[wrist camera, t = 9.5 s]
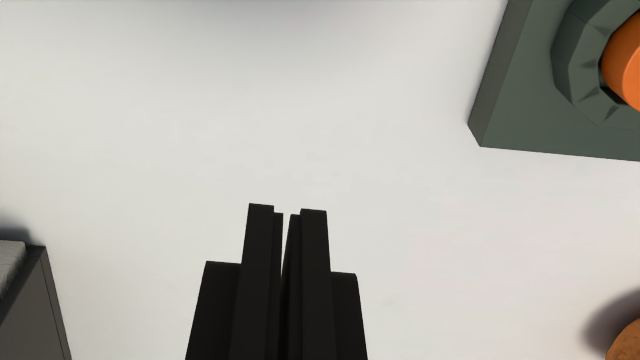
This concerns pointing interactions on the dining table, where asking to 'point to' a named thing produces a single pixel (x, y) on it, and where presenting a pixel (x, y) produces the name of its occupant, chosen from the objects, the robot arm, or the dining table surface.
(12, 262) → the drawer
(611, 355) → the potato
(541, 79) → the control block
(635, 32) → the button
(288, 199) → the dining table surface
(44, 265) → the cabinet
